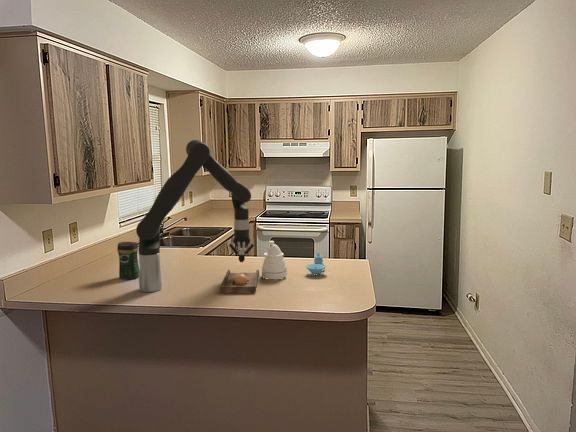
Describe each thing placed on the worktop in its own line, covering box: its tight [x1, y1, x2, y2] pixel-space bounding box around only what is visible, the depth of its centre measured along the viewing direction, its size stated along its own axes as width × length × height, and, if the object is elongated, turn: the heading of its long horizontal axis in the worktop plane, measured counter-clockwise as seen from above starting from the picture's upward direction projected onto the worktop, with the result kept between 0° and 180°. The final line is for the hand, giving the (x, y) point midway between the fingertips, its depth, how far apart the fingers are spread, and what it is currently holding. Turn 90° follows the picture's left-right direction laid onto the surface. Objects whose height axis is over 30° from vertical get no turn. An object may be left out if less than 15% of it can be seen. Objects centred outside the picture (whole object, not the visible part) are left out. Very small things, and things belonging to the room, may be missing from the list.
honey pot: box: [261, 240, 288, 279], centre depth 222 cm, size 13×13×18 cm
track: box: [219, 269, 260, 294], centre depth 211 cm, size 16×28×3 cm, turn 1°
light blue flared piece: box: [305, 252, 327, 275], centre depth 229 cm, size 18×10×9 cm, turn 167°
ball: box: [234, 274, 248, 285], centre depth 207 cm, size 6×6×6 cm
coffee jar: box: [116, 241, 140, 280], centre depth 222 cm, size 10×8×19 cm
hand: (241, 261), depth 221 cm, fingers closed
